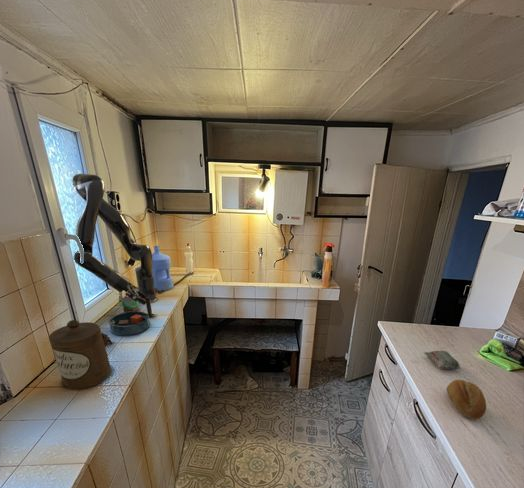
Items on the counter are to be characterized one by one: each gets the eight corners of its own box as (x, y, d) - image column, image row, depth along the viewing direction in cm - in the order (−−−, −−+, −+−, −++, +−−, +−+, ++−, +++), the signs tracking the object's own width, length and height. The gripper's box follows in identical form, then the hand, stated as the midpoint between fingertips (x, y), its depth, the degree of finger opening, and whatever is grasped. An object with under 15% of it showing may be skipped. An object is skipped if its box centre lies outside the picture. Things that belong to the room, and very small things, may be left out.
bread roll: (454, 419, 86) (463, 399, 83) (437, 389, 99) (444, 370, 96) (489, 425, 84) (500, 404, 81) (468, 393, 98) (475, 374, 94)
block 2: (137, 321, 141) (135, 314, 140) (143, 322, 140) (142, 315, 138) (131, 324, 138) (129, 317, 136) (138, 326, 137) (136, 318, 135)
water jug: (144, 290, 187) (137, 247, 176) (159, 283, 201) (153, 243, 189) (164, 292, 183) (159, 249, 172) (178, 285, 197) (173, 245, 185)
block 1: (120, 327, 135) (119, 320, 133) (130, 327, 136) (128, 319, 134) (119, 331, 131) (118, 323, 129) (128, 330, 132) (127, 323, 131)
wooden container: (53, 384, 96) (33, 327, 87) (88, 361, 109) (73, 309, 100) (88, 393, 93) (71, 334, 84) (120, 368, 106) (108, 315, 97)
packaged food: (436, 372, 108) (440, 361, 106) (421, 356, 119) (425, 346, 117) (459, 373, 108) (463, 362, 106) (442, 357, 119) (446, 347, 117)
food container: (135, 316, 149) (131, 298, 145) (123, 315, 149) (120, 298, 145) (144, 307, 160) (141, 290, 156) (133, 307, 160) (130, 290, 156)
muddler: (147, 315, 150) (144, 296, 146) (155, 315, 151) (152, 296, 146) (145, 318, 147) (141, 298, 142) (152, 318, 147) (149, 298, 142)
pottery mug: (119, 344, 123) (112, 334, 116) (104, 362, 118) (96, 352, 111) (96, 333, 125) (89, 323, 118) (80, 350, 119) (71, 341, 113)
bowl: (120, 320, 144) (118, 311, 142) (155, 320, 145) (153, 311, 143) (103, 336, 128) (101, 326, 126) (142, 336, 129) (141, 326, 127)
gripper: (120, 278, 129) (150, 299, 138) (122, 271, 141) (149, 290, 150) (110, 291, 130) (140, 310, 138) (112, 282, 142) (140, 300, 150)
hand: (145, 300), depth 144 cm, fingers open, 8 cm apart
